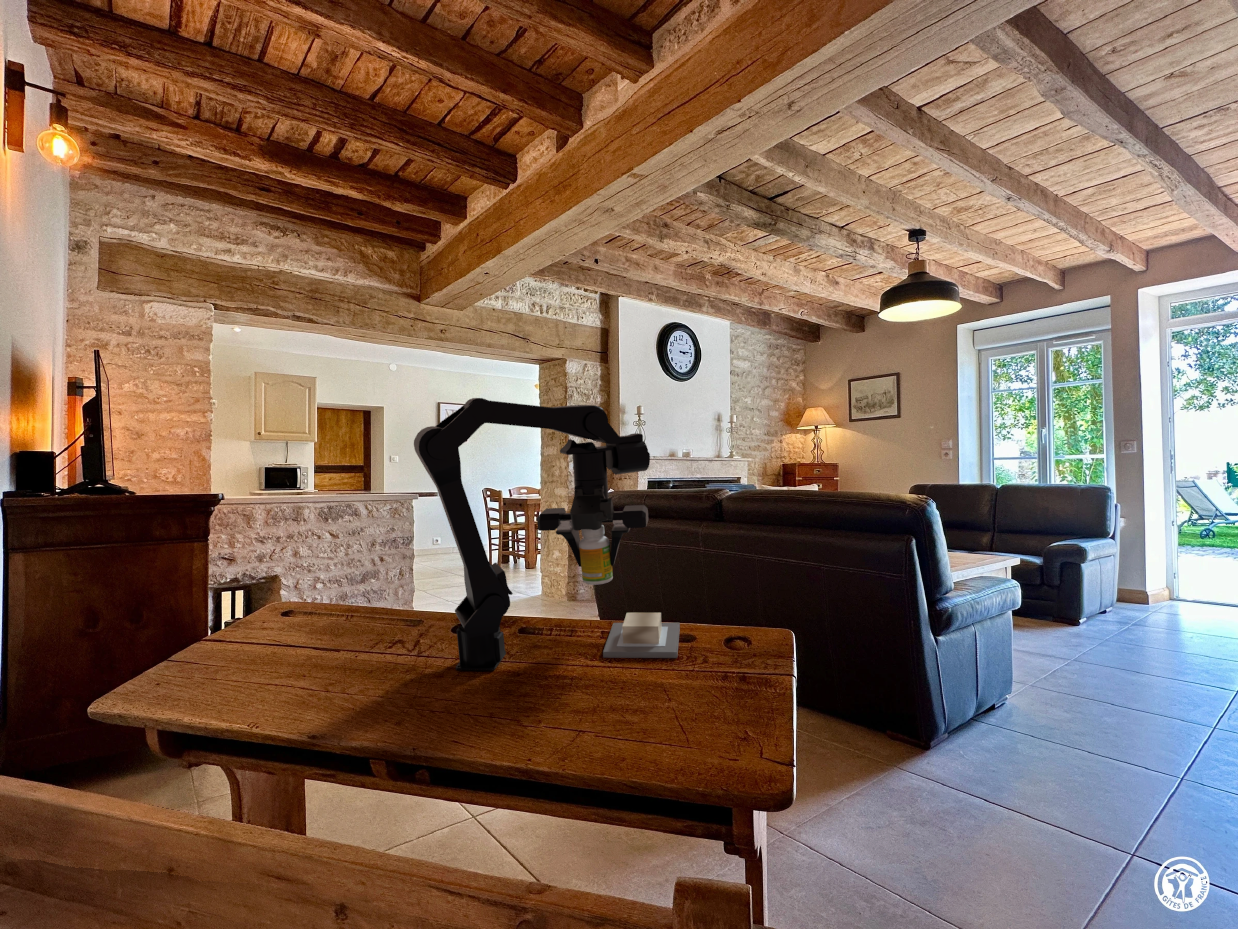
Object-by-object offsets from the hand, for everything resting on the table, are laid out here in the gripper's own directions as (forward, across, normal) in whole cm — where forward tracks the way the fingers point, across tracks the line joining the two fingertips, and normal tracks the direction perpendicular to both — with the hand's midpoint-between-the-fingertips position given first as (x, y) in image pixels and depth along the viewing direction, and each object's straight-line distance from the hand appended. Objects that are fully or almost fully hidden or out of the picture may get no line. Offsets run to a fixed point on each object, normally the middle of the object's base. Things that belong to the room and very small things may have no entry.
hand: (596, 565), depth 110 cm
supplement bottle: (+3, 0, 0) cm, 3 cm away
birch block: (+12, +8, -4) cm, 14 cm away
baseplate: (+13, +8, -4) cm, 15 cm away
